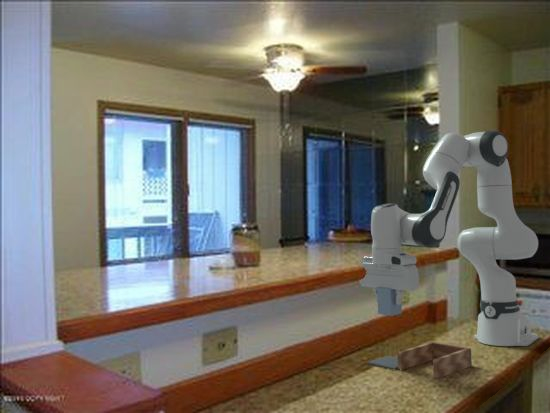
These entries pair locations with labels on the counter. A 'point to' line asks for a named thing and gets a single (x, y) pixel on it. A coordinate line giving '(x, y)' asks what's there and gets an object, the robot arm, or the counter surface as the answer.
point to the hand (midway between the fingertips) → (388, 303)
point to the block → (387, 302)
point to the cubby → (436, 358)
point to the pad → (385, 362)
